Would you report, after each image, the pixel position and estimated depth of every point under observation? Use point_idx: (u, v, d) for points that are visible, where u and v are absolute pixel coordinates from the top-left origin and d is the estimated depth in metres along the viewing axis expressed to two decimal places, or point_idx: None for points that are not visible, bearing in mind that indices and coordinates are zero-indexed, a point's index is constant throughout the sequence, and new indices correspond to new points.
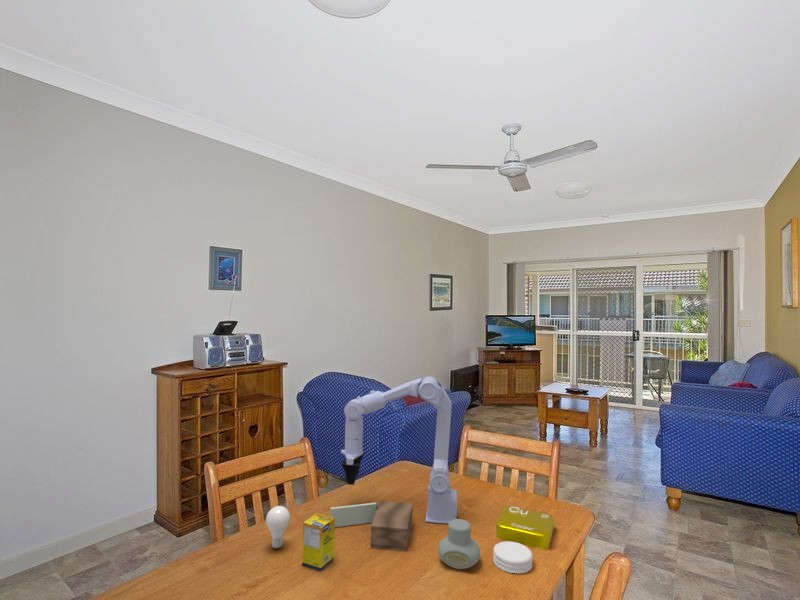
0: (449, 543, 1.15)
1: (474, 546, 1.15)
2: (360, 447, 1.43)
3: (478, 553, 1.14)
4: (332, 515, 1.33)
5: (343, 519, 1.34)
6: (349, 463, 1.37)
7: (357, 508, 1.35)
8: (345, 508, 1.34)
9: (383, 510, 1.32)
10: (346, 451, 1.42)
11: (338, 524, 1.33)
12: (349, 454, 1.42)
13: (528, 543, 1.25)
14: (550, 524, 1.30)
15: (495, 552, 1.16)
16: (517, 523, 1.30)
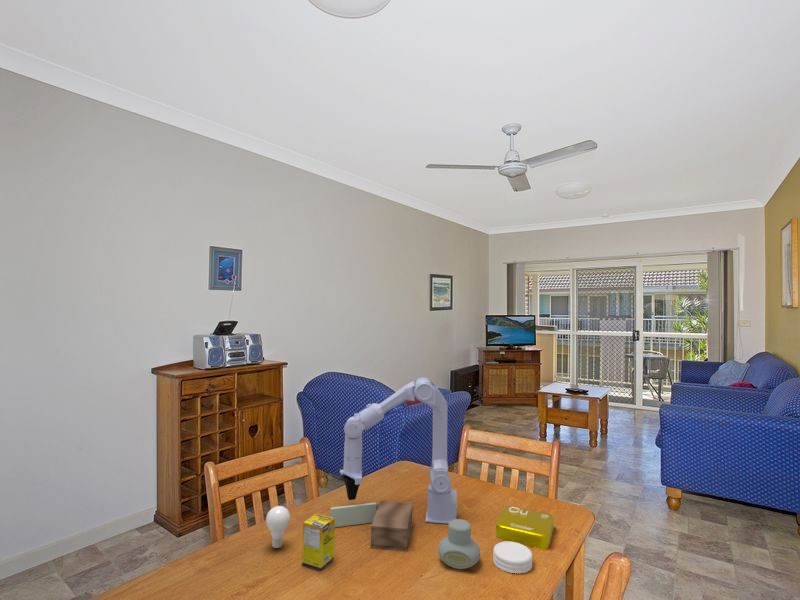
0: (449, 543, 1.15)
1: (474, 546, 1.15)
2: (361, 465, 1.41)
3: (478, 553, 1.14)
4: (332, 515, 1.33)
5: (343, 519, 1.34)
6: (358, 483, 1.35)
7: (357, 508, 1.35)
8: (345, 508, 1.34)
9: (383, 510, 1.32)
10: (348, 471, 1.39)
11: (338, 524, 1.33)
12: (352, 474, 1.38)
13: (528, 543, 1.25)
14: (550, 524, 1.30)
15: (495, 552, 1.16)
16: (517, 523, 1.30)
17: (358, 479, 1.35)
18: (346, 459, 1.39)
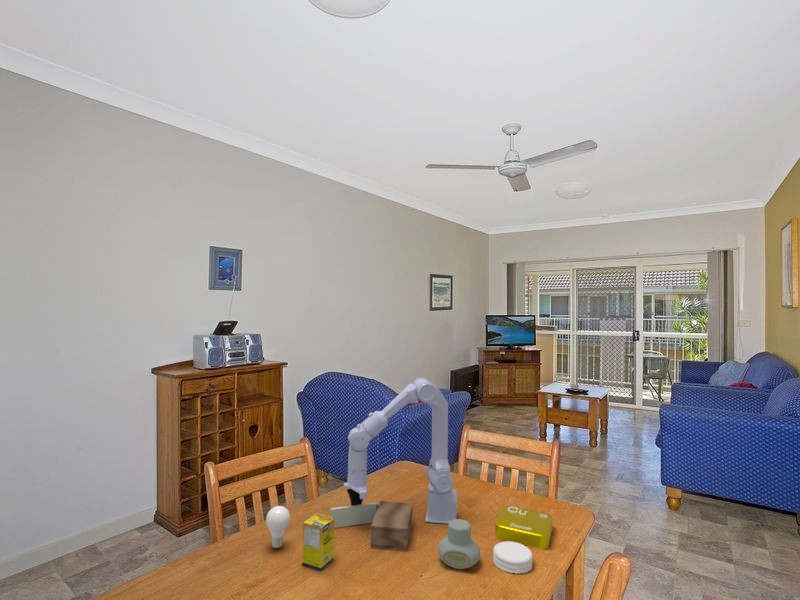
0: (449, 543, 1.15)
1: (474, 546, 1.15)
2: None
3: (478, 553, 1.14)
4: (332, 516, 1.32)
5: (343, 519, 1.34)
6: (363, 497, 1.30)
7: (357, 508, 1.35)
8: (345, 508, 1.34)
9: (383, 510, 1.32)
10: (352, 484, 1.34)
11: (338, 525, 1.33)
12: (357, 487, 1.34)
13: (527, 543, 1.25)
14: (549, 524, 1.30)
15: (495, 552, 1.16)
16: (516, 523, 1.30)
17: (363, 493, 1.30)
18: (350, 472, 1.35)
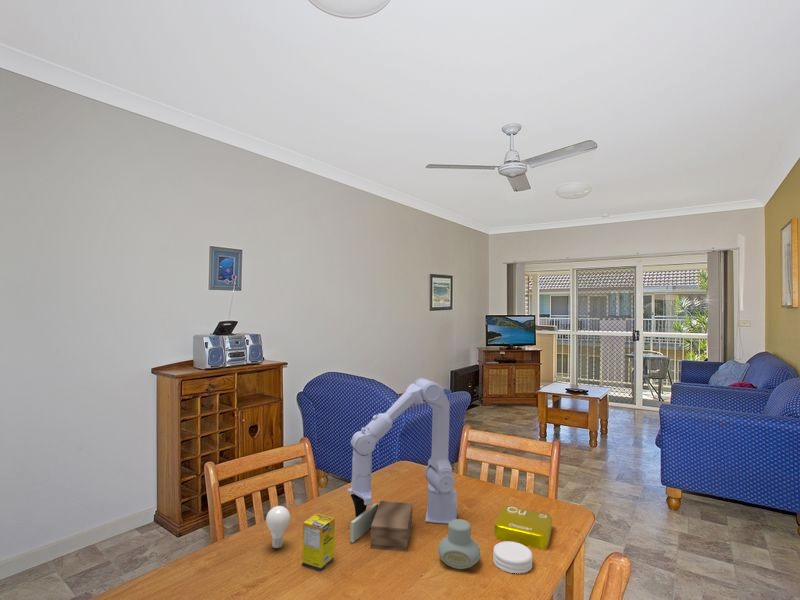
0: (449, 543, 1.15)
1: (474, 546, 1.15)
2: (370, 483, 1.32)
3: (478, 553, 1.14)
4: (354, 529, 1.25)
5: (360, 529, 1.28)
6: (368, 503, 1.26)
7: (368, 513, 1.32)
8: (361, 517, 1.29)
9: (383, 510, 1.32)
10: (356, 490, 1.30)
11: (357, 536, 1.27)
12: (361, 492, 1.30)
13: (526, 543, 1.25)
14: (548, 524, 1.30)
15: (495, 552, 1.16)
16: (515, 523, 1.30)
17: (367, 499, 1.26)
18: (354, 477, 1.31)
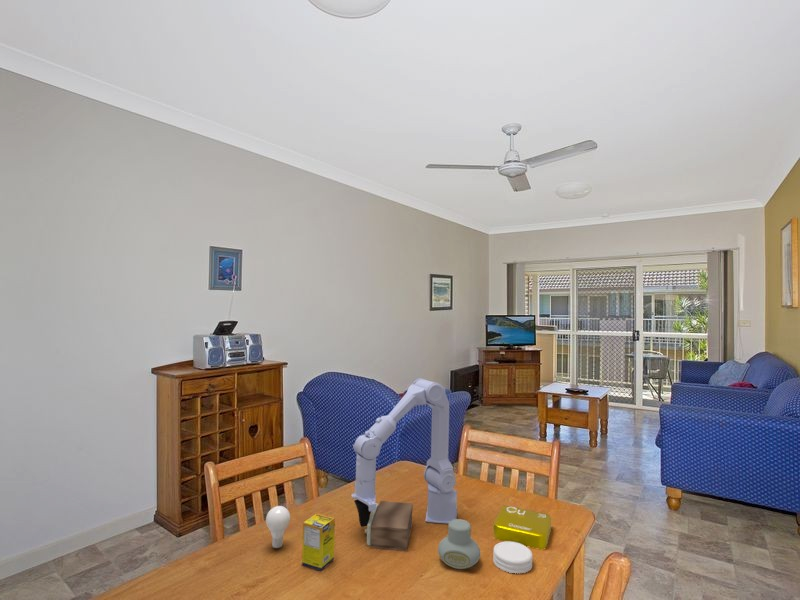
0: (449, 543, 1.15)
1: (474, 546, 1.15)
2: (374, 488, 1.28)
3: (478, 553, 1.14)
4: (370, 531, 1.24)
5: None
6: (372, 509, 1.22)
7: None
8: (373, 518, 1.28)
9: (383, 510, 1.32)
10: (360, 495, 1.26)
11: None
12: (365, 498, 1.26)
13: (526, 543, 1.25)
14: (547, 524, 1.31)
15: (495, 552, 1.16)
16: (515, 523, 1.30)
17: (372, 505, 1.22)
18: (358, 482, 1.27)
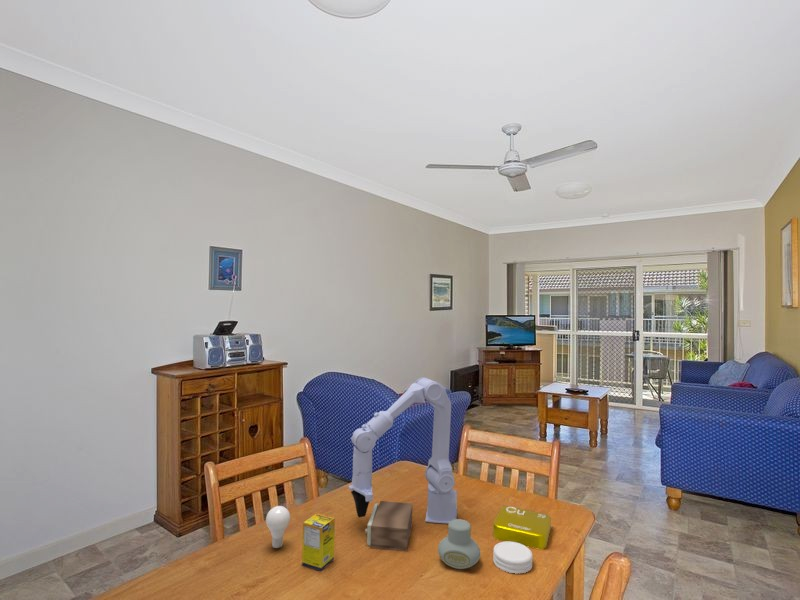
0: (449, 543, 1.15)
1: (474, 546, 1.15)
2: (371, 479, 1.33)
3: (478, 553, 1.14)
4: None
5: None
6: (369, 499, 1.26)
7: None
8: (373, 518, 1.28)
9: (383, 510, 1.32)
10: (357, 487, 1.30)
11: None
12: (362, 489, 1.30)
13: (525, 543, 1.25)
14: (547, 524, 1.30)
15: (495, 552, 1.16)
16: (514, 523, 1.30)
17: (368, 495, 1.26)
18: (355, 474, 1.31)
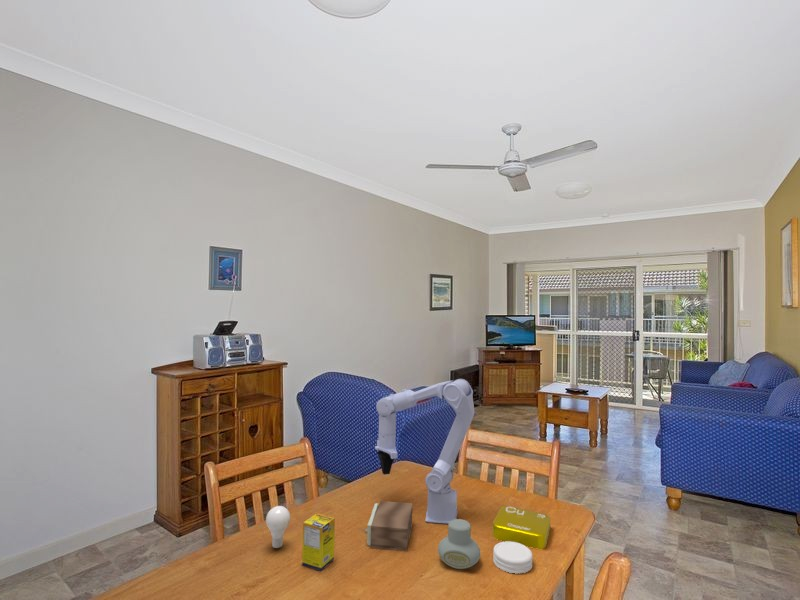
0: (449, 543, 1.15)
1: (474, 546, 1.15)
2: None
3: (478, 553, 1.14)
4: None
5: None
6: (394, 457, 1.43)
7: None
8: (373, 518, 1.28)
9: (383, 510, 1.32)
10: (383, 447, 1.47)
11: None
12: (387, 449, 1.47)
13: (525, 543, 1.25)
14: (546, 524, 1.30)
15: (495, 552, 1.16)
16: (514, 523, 1.30)
17: (393, 453, 1.43)
18: (381, 435, 1.47)
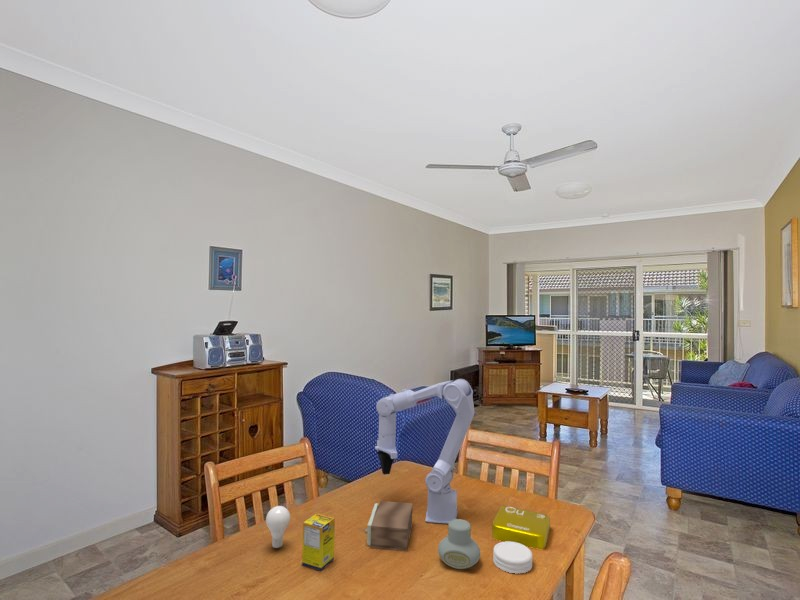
0: (449, 543, 1.15)
1: (474, 546, 1.15)
2: None
3: (478, 553, 1.14)
4: None
5: None
6: (394, 457, 1.43)
7: None
8: (373, 518, 1.28)
9: (383, 510, 1.32)
10: (383, 447, 1.47)
11: None
12: (387, 449, 1.47)
13: (524, 543, 1.25)
14: (546, 524, 1.30)
15: (495, 552, 1.16)
16: (513, 523, 1.30)
17: (393, 453, 1.43)
18: (381, 435, 1.47)
